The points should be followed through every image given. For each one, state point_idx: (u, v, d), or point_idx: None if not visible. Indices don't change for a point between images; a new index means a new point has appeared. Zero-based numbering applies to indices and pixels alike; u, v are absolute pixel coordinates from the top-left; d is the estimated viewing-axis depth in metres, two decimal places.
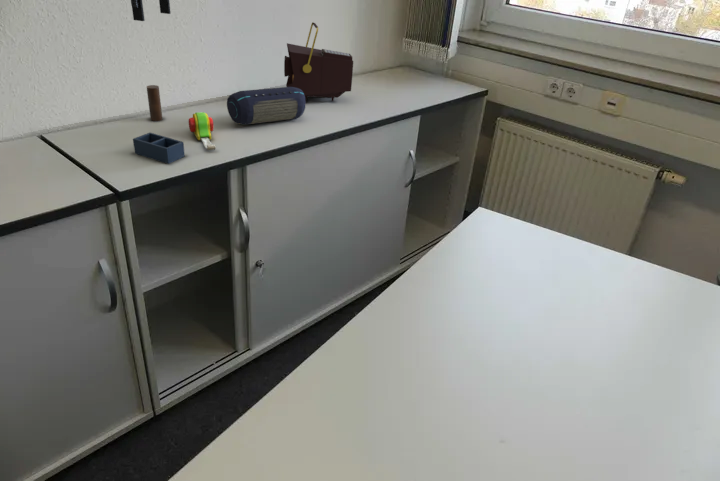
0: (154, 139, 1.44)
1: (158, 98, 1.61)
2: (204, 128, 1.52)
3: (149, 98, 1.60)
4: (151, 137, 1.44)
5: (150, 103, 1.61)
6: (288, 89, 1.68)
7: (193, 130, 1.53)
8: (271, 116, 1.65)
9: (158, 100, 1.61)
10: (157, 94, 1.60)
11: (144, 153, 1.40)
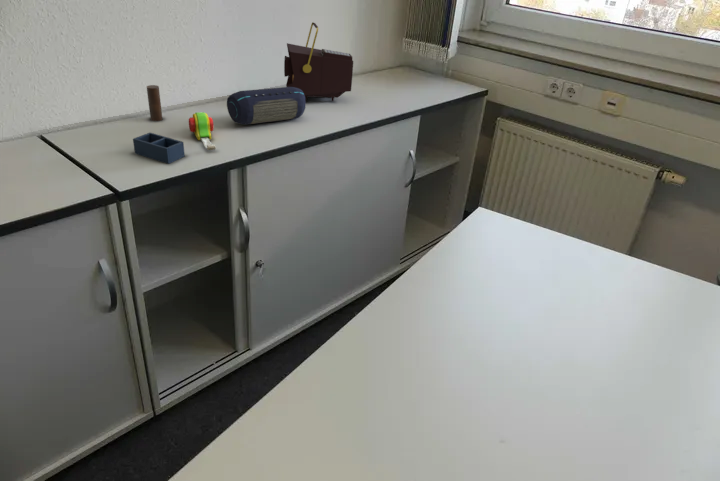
0: (154, 139, 1.44)
1: (158, 98, 1.61)
2: (204, 128, 1.52)
3: (149, 98, 1.60)
4: (151, 137, 1.44)
5: (150, 103, 1.61)
6: (288, 89, 1.68)
7: (193, 130, 1.53)
8: (271, 116, 1.65)
9: (158, 100, 1.61)
10: (157, 94, 1.60)
11: (144, 153, 1.40)
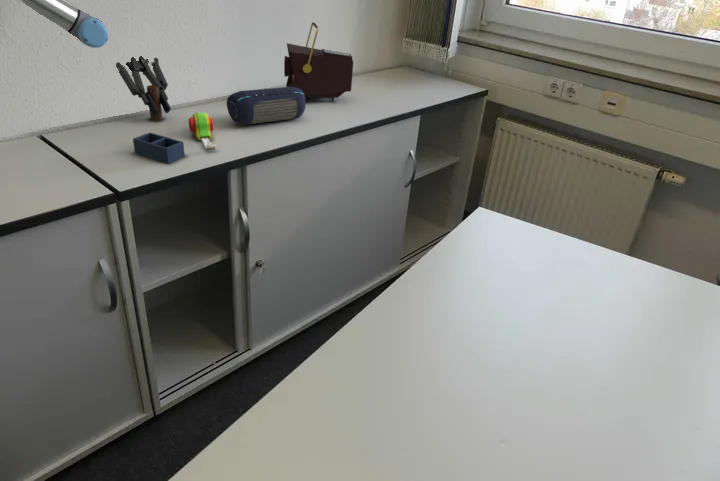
0: (154, 139, 1.44)
1: (158, 98, 1.61)
2: (204, 128, 1.52)
3: None
4: (151, 137, 1.44)
5: None
6: (288, 89, 1.68)
7: (193, 130, 1.53)
8: (271, 116, 1.65)
9: (158, 100, 1.61)
10: (157, 94, 1.60)
11: (144, 153, 1.40)
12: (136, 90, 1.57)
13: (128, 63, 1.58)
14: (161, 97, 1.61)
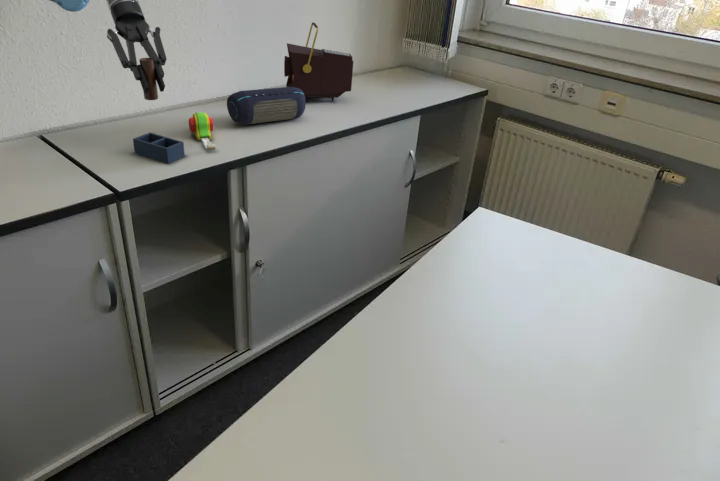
0: (154, 139, 1.44)
1: (152, 73, 1.38)
2: (204, 128, 1.52)
3: None
4: (151, 137, 1.44)
5: None
6: (288, 89, 1.68)
7: (193, 130, 1.53)
8: (271, 116, 1.65)
9: (152, 75, 1.38)
10: (151, 68, 1.37)
11: (144, 153, 1.40)
12: (126, 62, 1.35)
13: (122, 31, 1.37)
14: (156, 72, 1.38)
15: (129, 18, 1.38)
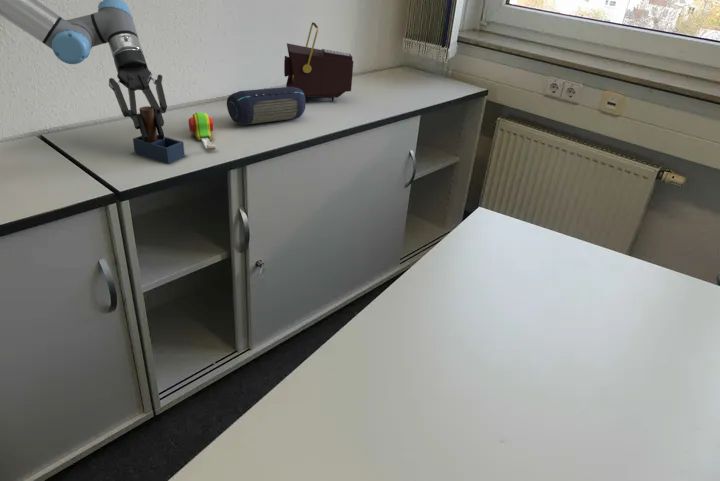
0: None
1: (152, 122, 1.38)
2: (204, 128, 1.52)
3: None
4: None
5: None
6: (288, 89, 1.68)
7: (193, 130, 1.53)
8: (271, 116, 1.65)
9: (151, 124, 1.38)
10: (150, 117, 1.37)
11: (144, 153, 1.40)
12: (126, 111, 1.35)
13: (124, 79, 1.37)
14: (156, 121, 1.38)
15: (132, 67, 1.39)
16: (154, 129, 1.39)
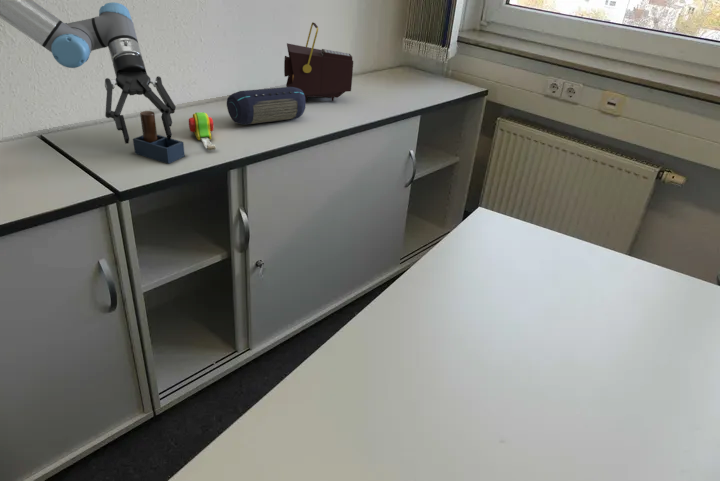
0: None
1: (152, 126, 1.38)
2: (204, 128, 1.52)
3: (142, 126, 1.38)
4: None
5: (143, 131, 1.39)
6: (288, 89, 1.68)
7: (193, 130, 1.53)
8: (271, 116, 1.65)
9: (152, 129, 1.39)
10: (151, 122, 1.38)
11: (144, 153, 1.40)
12: (108, 112, 1.33)
13: (122, 84, 1.37)
14: (164, 121, 1.40)
15: (131, 71, 1.39)
16: (155, 134, 1.40)
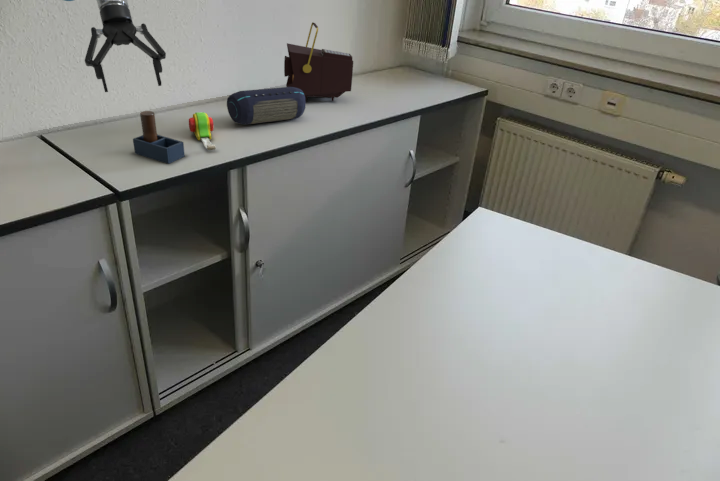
0: None
1: (152, 126, 1.38)
2: (204, 128, 1.52)
3: (142, 126, 1.38)
4: None
5: (143, 131, 1.39)
6: (288, 89, 1.68)
7: (193, 130, 1.53)
8: (271, 116, 1.65)
9: (152, 129, 1.39)
10: (151, 122, 1.38)
11: (144, 153, 1.40)
12: (86, 61, 1.40)
13: (108, 35, 1.42)
14: (154, 68, 1.46)
15: (116, 21, 1.43)
16: (155, 134, 1.40)
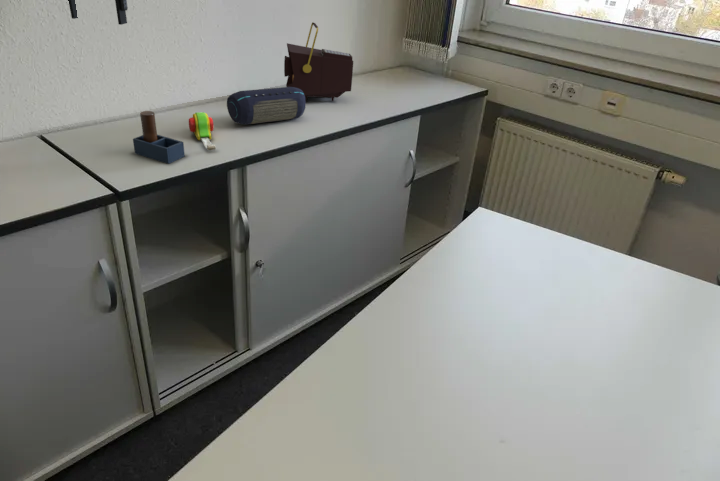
0: None
1: (152, 126, 1.38)
2: (204, 128, 1.52)
3: (142, 126, 1.38)
4: None
5: (143, 131, 1.39)
6: (288, 89, 1.68)
7: (193, 130, 1.53)
8: (271, 116, 1.65)
9: (152, 129, 1.39)
10: (151, 122, 1.38)
11: (144, 153, 1.40)
12: None
13: None
14: None
15: None
16: (155, 134, 1.40)
